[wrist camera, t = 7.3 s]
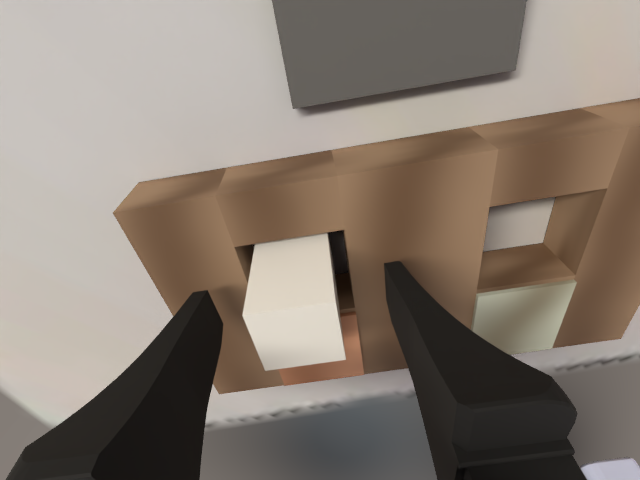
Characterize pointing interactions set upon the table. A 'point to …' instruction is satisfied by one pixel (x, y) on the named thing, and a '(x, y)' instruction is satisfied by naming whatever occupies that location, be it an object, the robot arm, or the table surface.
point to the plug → (294, 303)
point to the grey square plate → (392, 44)
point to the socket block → (415, 235)
